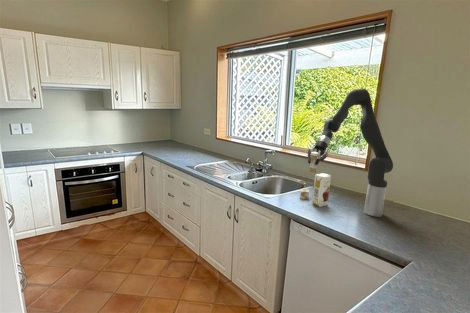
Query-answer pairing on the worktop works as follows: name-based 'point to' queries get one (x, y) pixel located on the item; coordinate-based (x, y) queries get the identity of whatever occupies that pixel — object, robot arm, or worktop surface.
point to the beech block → (304, 194)
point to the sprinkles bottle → (313, 162)
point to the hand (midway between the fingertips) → (312, 163)
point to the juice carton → (321, 189)
